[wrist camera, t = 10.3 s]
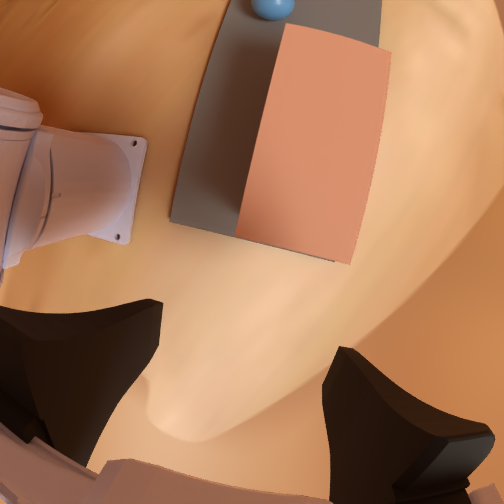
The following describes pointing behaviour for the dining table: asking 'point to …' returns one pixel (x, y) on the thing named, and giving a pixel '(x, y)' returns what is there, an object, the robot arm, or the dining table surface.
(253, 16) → the charcoal mat
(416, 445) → the robot arm
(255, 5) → the blue marble
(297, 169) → the terracotta cover
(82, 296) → the dining table surface
